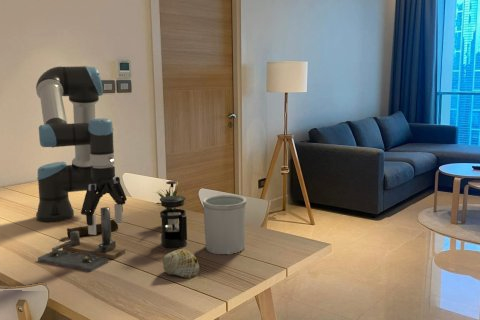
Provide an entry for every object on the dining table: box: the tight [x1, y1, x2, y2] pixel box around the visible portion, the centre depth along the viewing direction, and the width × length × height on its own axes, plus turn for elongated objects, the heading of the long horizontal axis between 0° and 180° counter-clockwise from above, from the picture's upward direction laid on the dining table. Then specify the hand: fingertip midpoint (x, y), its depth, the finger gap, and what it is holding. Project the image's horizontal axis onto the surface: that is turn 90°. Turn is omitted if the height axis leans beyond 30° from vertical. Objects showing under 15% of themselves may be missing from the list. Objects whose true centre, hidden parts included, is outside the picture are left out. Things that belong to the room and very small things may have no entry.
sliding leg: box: [84, 206, 117, 260], centre depth 159 cm, size 13×3×14 cm, turn 156°
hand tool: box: [66, 219, 119, 239], centre depth 185 cm, size 19×4×5 cm, turn 117°
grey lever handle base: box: [51, 231, 126, 260], centre depth 163 cm, size 14×22×6 cm, turn 66°
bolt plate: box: [37, 249, 109, 272], centre depth 158 cm, size 8×22×1 cm, turn 66°
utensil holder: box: [202, 193, 247, 255], centre depth 168 cm, size 15×15×18 cm
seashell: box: [162, 248, 200, 279], centre depth 147 cm, size 10×10×10 cm
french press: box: [159, 180, 188, 250], centre depth 171 cm, size 12×9×23 cm
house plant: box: [154, 185, 187, 224], centre depth 194 cm, size 14×14×16 cm
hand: (106, 228), depth 163 cm, fingers open, 13 cm apart
